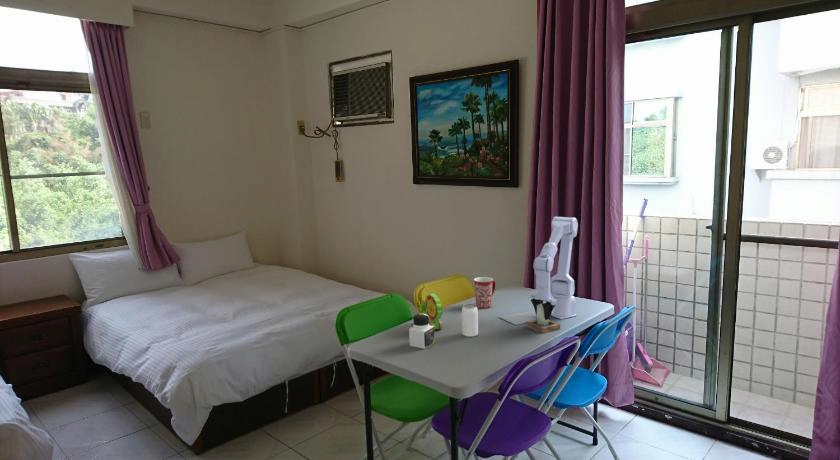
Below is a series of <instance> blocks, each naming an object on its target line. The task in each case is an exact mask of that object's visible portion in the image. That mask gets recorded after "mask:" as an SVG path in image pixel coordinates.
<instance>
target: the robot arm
mask: <svg viewBox="0 0 840 460" xmlns="http://www.w3.org/2000/svg"><path fill="white" fill-rule="evenodd" d="M578 227H579V223H578V219H577V218H576V217H569V216H568V217H565V216H553V218H552V220H551V230H552V231H551V234H550V236H549V239H548V242H546V243H545V244H544V245H543V247H542V249H541V251H540V254H539V255H538V256H537V257H536V258H534V260H533V265H532V267H533V269H534V274H535V291H530V293H529V297H530V298H531V299H530V302H531V304H532V306H533V308H534V312H535V316H536V317H537V305H538V304H542V306H543V309H544V317H545V320H548V319H549V320H551V316H552V317H554V318H557V319H558V320H563V319H568V318H573V317H577V315H578V314H577V313H576V310H577V308H576V307H577V303H576V302H577V301H576V298H575V296H574V294H575V289H576V287H575V280H574V278H573V277H571V276H570V274H569V273H570V267H571V265H570V264H571V260H572V259H571V258H572V257H571V256H572V250H573V242H574V238H575V237H577V234H578V229H579V228H578ZM559 242H560V248H558V247H557V246H558V244H559ZM558 249H559V255H558V264H557V272H556V274H554V275H553V276H552V277H551V272H552V270H553V268H554V262H555V260H554V259H555V257H556V254H557V251H558Z"/></svg>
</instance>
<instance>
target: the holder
mask: <svg viewBox="0 0 840 460" xmlns="http://www.w3.org/2000/svg"><path fill="white" fill-rule="evenodd" d="M525 327H526V328H529V329H531V330H532V331H535V332H537V333H539V334H545V333H549V332H553V331H554V332H555V331H558V330H561V324H560V323H558V322H555V321H553V320H551V319H549V325H548V326H539V325H537V318H536V320H532V321H527V322H526V323H525Z"/></svg>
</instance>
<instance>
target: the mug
mask: <svg viewBox="0 0 840 460" xmlns="http://www.w3.org/2000/svg"><path fill="white" fill-rule="evenodd" d="M473 283H474V293H475V295H474V296H475V305H476V306H477V309H482V310H484V309H485V310H486V309H490V308H492V306H493V305H492V301H493V295H494V294H495V289H496V281H495V280H494V279H493V277H489V276H480V277H475V278H473Z"/></svg>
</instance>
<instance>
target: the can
mask: <svg viewBox="0 0 840 460" xmlns="http://www.w3.org/2000/svg"><path fill="white" fill-rule="evenodd" d="M478 309H479V308H477V306H476V304H473V303H465V304H463V305H462V308H461V330H462V331H461V332H462V335H463V336H464V337H468V338H471V337H472V338H473V337H477V336H478V334H479V310H478Z"/></svg>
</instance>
